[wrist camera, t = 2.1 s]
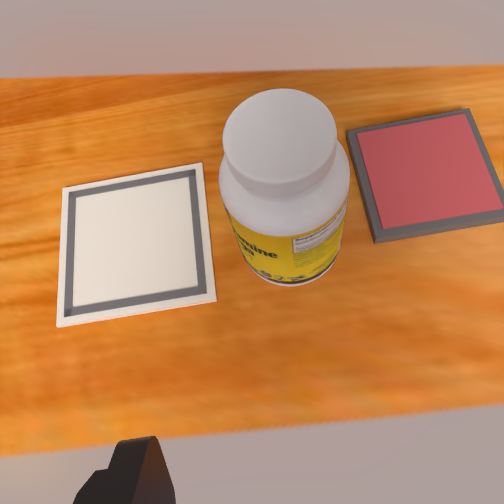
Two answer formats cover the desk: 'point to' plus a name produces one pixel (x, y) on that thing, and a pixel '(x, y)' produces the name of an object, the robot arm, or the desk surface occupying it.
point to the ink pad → (425, 176)
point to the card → (135, 246)
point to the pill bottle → (285, 185)
